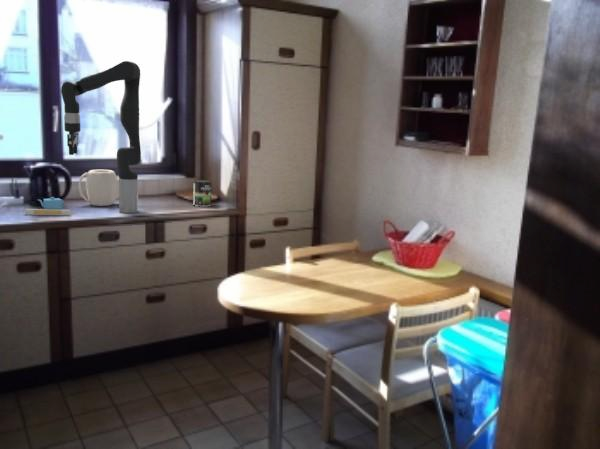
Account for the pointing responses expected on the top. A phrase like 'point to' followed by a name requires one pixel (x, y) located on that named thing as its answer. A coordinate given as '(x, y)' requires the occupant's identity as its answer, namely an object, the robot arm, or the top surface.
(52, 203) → the teapot
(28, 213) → the price rail
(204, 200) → the coffee can
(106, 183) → the white mug
